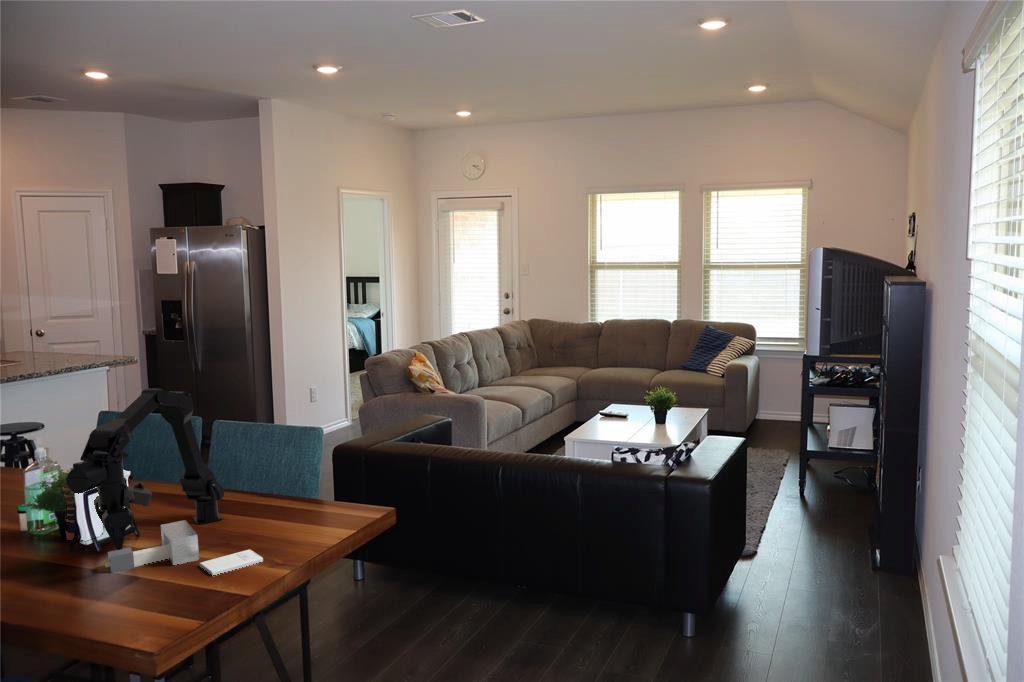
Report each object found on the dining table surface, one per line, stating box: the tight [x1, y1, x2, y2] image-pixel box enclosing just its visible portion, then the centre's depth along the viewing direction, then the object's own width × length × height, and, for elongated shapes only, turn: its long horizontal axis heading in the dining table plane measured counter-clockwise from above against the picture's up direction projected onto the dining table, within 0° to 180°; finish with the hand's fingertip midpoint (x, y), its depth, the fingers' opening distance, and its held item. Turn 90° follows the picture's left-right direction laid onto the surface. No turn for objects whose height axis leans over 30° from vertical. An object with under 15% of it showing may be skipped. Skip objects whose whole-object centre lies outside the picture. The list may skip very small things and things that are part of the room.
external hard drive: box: [198, 549, 264, 577], centre depth 195 cm, size 2×8×12 cm
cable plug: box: [103, 544, 170, 574], centre depth 198 cm, size 20×4×4 cm, turn 124°
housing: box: [160, 519, 200, 566], centre depth 202 cm, size 13×6×6 cm, turn 34°
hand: (116, 543), depth 194 cm, fingers open, 9 cm apart
